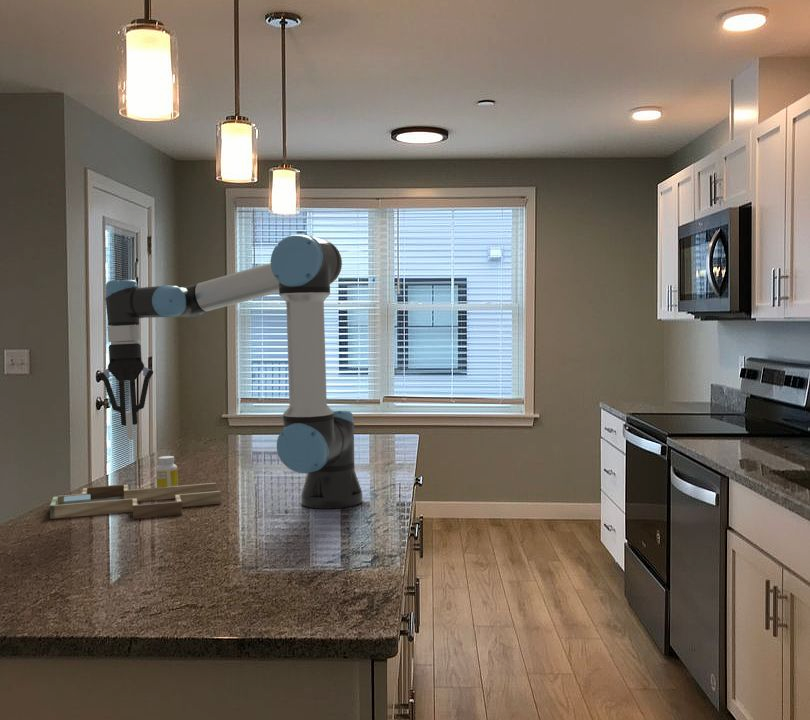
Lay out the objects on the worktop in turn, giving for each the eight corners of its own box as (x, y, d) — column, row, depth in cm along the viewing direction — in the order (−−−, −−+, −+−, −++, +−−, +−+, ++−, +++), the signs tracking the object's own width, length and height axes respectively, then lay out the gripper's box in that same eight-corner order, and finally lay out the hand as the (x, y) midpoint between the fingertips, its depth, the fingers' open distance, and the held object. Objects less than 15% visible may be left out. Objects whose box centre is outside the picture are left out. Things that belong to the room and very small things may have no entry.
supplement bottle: (177, 490, 224) (176, 454, 224) (179, 494, 219) (178, 457, 218) (156, 492, 222) (155, 456, 222) (158, 496, 217) (156, 459, 217)
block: (91, 513, 201) (90, 499, 201) (64, 515, 199) (63, 501, 198) (91, 508, 206) (90, 494, 206) (64, 510, 204) (64, 496, 204)
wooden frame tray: (224, 510, 200) (224, 498, 200) (47, 526, 187) (46, 513, 187) (213, 488, 226) (212, 477, 226) (56, 501, 214) (56, 489, 214)
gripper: (151, 341, 210) (157, 434, 211) (96, 344, 205) (102, 438, 207) (152, 341, 203) (158, 437, 204) (96, 344, 198) (101, 442, 200)
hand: (130, 438), depth 205 cm, fingers closed
